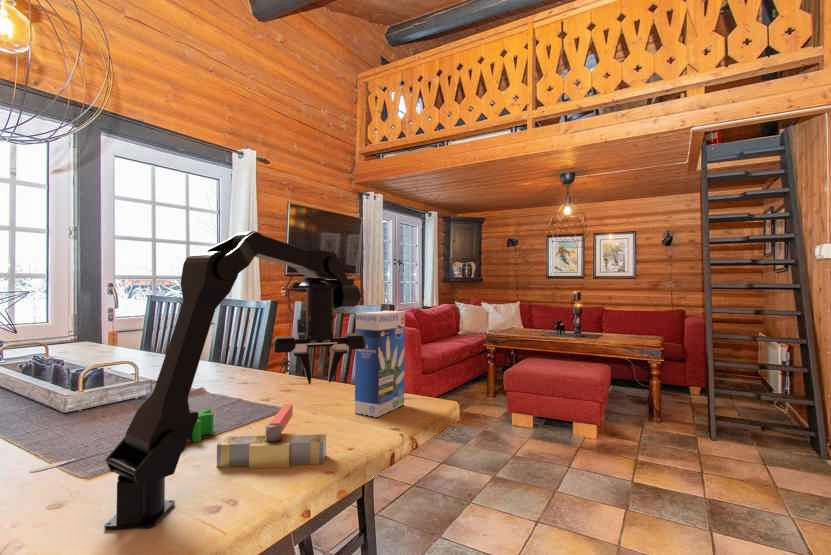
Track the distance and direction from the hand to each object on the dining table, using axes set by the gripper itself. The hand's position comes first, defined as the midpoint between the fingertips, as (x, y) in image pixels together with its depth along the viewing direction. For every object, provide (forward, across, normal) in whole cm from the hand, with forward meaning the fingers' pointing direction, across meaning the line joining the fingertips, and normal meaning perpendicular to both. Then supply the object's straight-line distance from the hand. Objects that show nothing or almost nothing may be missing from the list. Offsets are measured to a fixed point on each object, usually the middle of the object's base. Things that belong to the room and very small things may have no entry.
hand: (319, 382), depth 91 cm
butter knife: (+12, +38, -8) cm, 41 cm away
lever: (+8, +8, +3) cm, 12 cm away
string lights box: (+12, -18, -16) cm, 27 cm away
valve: (+12, +10, +8) cm, 17 cm away
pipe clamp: (+12, +25, -9) cm, 29 cm away
